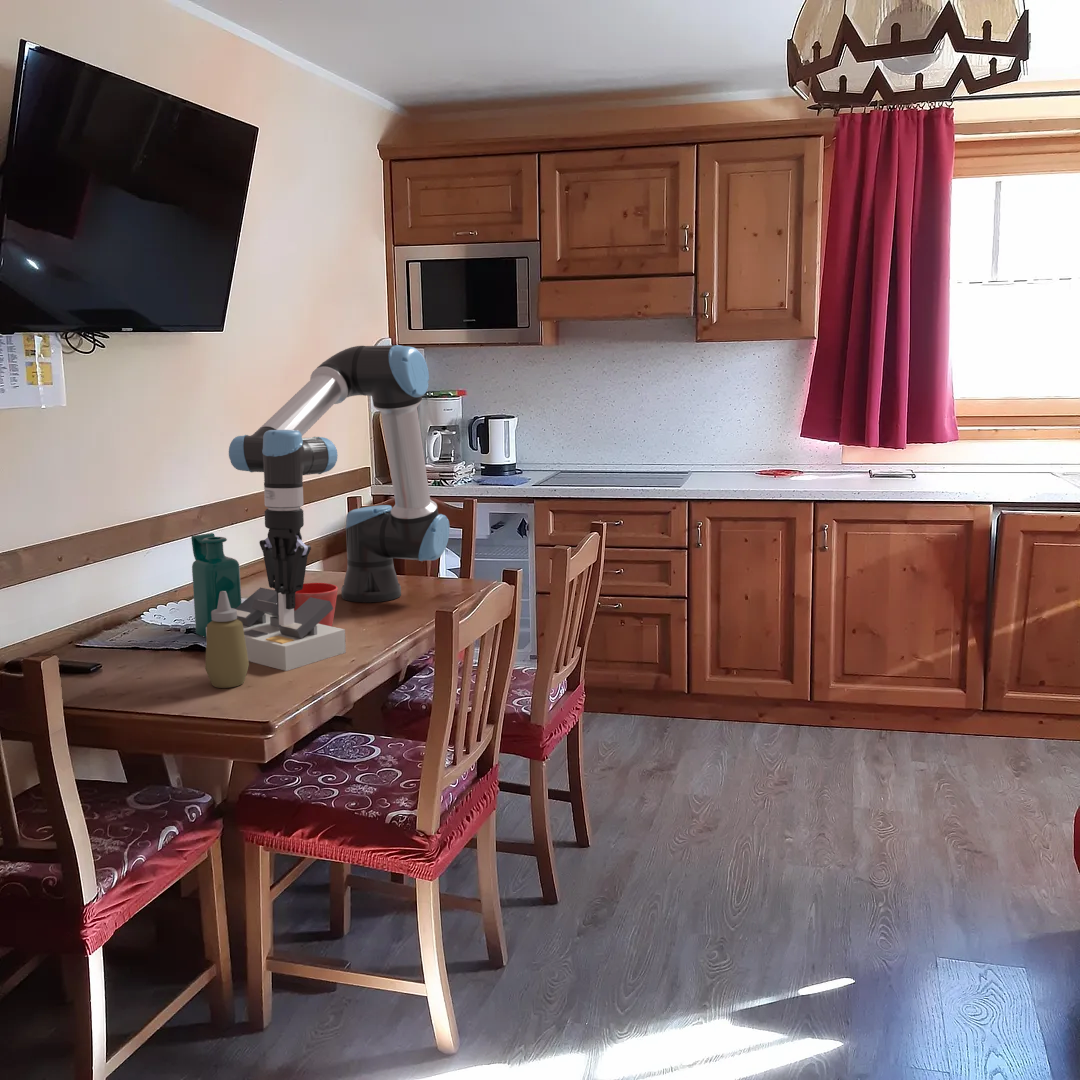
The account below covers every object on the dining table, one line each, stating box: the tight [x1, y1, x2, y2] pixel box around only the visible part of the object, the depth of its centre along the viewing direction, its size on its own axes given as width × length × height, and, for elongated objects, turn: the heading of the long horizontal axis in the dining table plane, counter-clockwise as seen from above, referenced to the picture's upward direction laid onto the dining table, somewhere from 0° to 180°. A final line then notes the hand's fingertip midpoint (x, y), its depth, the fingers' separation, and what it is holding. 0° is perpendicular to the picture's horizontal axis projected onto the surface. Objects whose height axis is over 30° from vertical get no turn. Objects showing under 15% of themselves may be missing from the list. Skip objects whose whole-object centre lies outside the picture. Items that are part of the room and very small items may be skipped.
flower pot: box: [294, 582, 339, 627], centre depth 240 cm, size 11×11×10 cm
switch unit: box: [205, 613, 347, 672], centre depth 222 cm, size 16×25×7 cm, turn 54°
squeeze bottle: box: [204, 591, 250, 689], centre depth 200 cm, size 8×8×18 cm
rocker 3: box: [278, 597, 333, 639], centre depth 218 cm, size 10×6×2 cm, turn 143°
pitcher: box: [190, 532, 243, 638], centre depth 235 cm, size 10×8×22 cm
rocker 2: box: [252, 600, 295, 617], centre depth 223 cm, size 10×6×2 cm, turn 145°
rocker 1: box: [236, 587, 277, 627], centre depth 227 cm, size 10×6×2 cm, turn 143°
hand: (286, 623), depth 214 cm, fingers closed
